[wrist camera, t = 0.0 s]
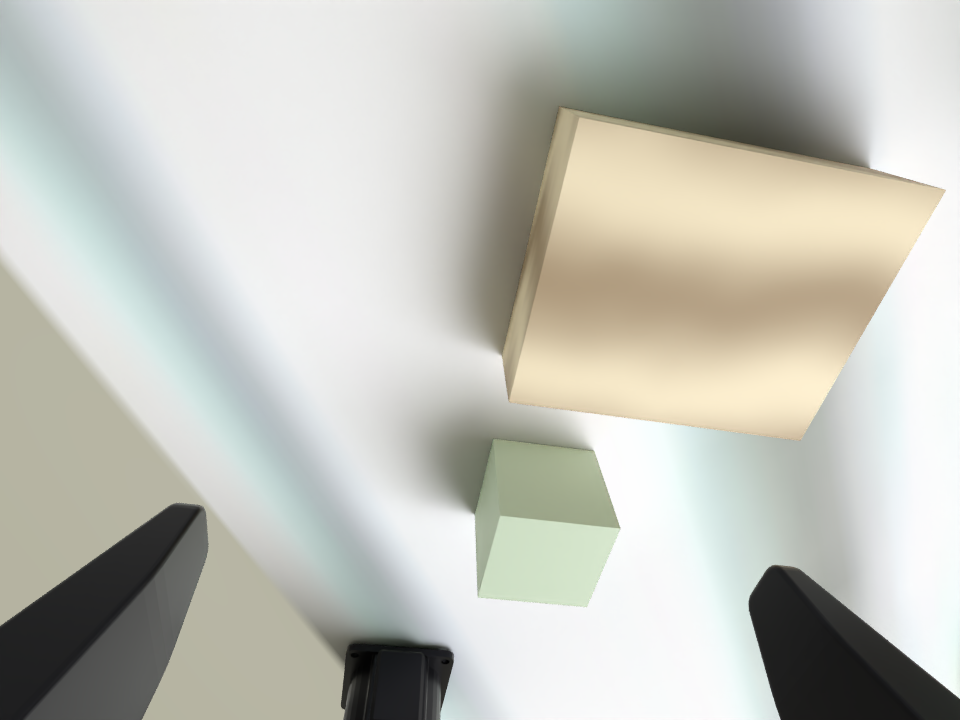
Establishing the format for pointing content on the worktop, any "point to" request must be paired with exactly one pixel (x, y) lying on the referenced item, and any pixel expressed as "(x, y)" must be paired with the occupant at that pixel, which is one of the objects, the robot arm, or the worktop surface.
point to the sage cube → (542, 524)
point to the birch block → (700, 276)
